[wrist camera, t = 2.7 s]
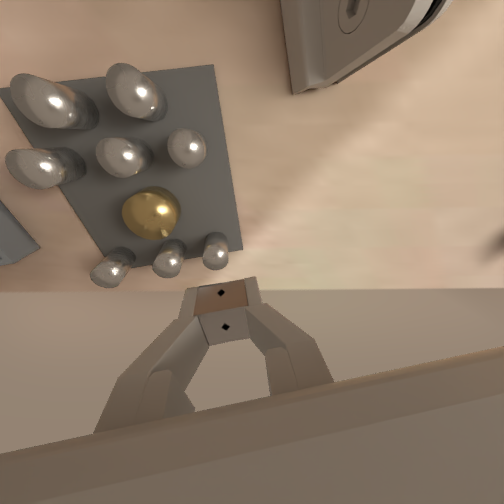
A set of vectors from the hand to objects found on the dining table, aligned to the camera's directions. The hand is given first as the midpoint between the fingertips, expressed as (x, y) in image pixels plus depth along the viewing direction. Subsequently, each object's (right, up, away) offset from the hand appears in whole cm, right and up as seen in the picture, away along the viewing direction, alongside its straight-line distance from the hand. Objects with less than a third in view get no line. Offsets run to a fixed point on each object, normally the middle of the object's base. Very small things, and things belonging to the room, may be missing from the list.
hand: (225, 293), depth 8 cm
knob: (-9, +6, +11) cm, 15 cm away
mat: (-9, +8, +11) cm, 16 cm away
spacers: (-9, +8, +11) cm, 16 cm away
